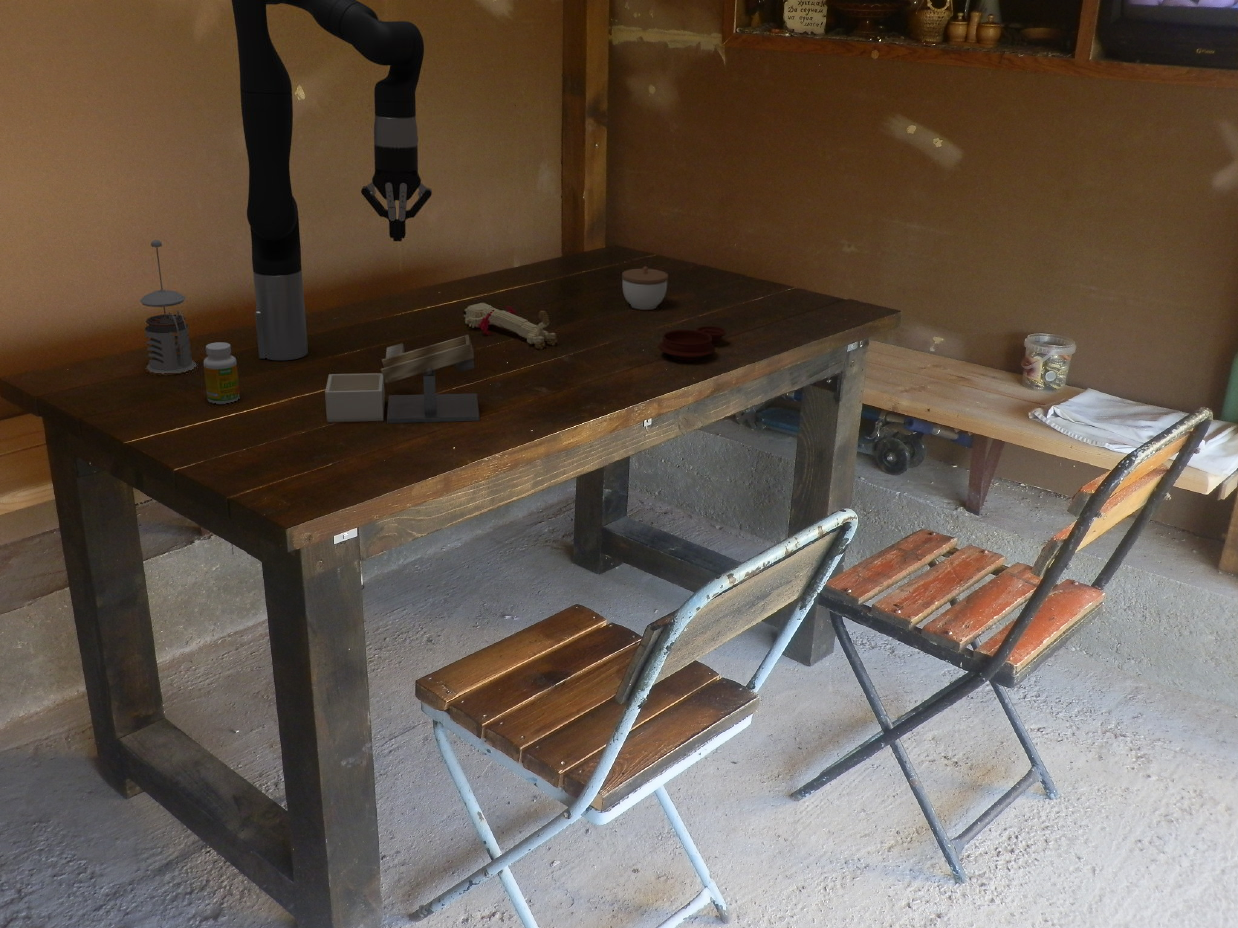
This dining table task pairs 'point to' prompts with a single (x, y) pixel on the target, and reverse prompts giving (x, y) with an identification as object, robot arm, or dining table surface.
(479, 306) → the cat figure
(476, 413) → the stand
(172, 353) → the french press
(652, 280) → the lidded jar
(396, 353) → the chute
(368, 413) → the open grey tray box
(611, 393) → the dining table surface
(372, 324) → the dining table surface
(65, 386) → the dining table surface
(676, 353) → the pottery
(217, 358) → the supplement bottle
